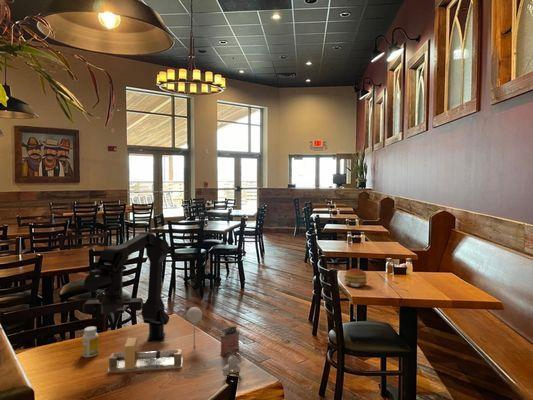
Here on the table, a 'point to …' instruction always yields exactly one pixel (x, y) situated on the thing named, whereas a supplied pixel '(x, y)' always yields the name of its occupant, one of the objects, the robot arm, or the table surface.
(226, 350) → the lighter
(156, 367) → the grey piece
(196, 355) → the table surface
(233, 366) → the rubber duck
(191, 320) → the lollipop
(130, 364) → the tan wooden block
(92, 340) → the supplement bottle
